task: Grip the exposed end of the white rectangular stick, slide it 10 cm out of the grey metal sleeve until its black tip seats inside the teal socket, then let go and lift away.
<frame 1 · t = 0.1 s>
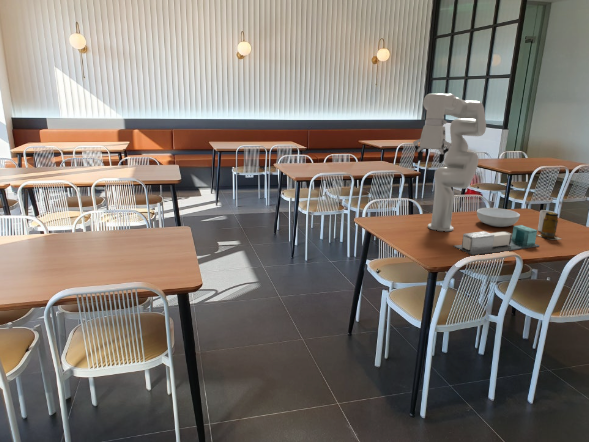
hand: (430, 161, 196), 37 cm above the table, tool pointing down, fingers open, 9 cm apart
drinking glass: (543, 231, 224), on the table
serving bowl: (496, 225, 233), on the table
white rectangular stick: (487, 240, 194), point 4 cm above the table, slide at 0.0 cm
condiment: (548, 237, 213), on the table
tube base: (499, 246, 198), on the table
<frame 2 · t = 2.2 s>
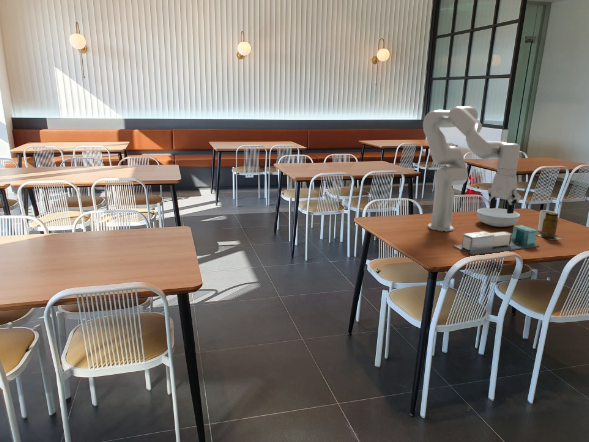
hand: (501, 210, 192), 17 cm above the table, tool pointing down, fingers open, 9 cm apart
nothing on the table moved.
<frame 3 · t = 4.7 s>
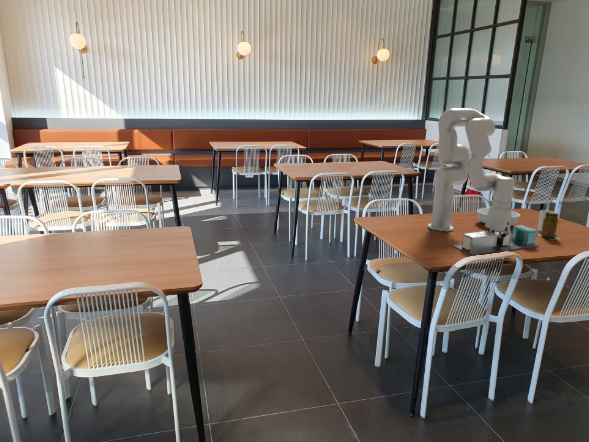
hand: (495, 243, 197), 2 cm above the table, tool pointing down, fingers closed on white rectangular stick, 4 cm apart
white rectangular stick: (487, 240, 194), point 4 cm above the table, slide at 0.0 cm, touching gripper
everything else where it was.
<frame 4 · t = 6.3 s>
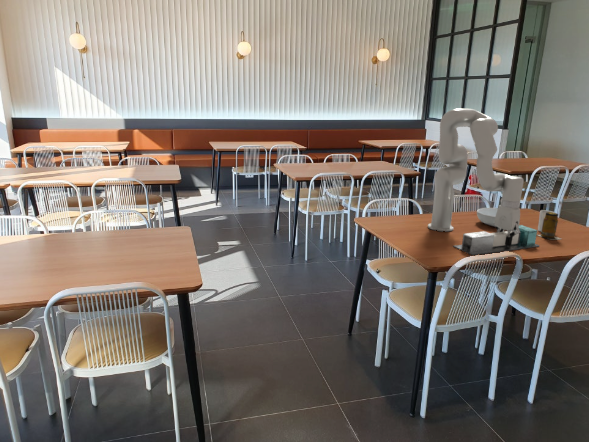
hand: (504, 242, 199), 2 cm above the table, tool pointing down, fingers closed on white rectangular stick, 4 cm apart
white rectangular stick: (496, 239, 196), point 4 cm above the table, slide at 5.2 cm, touching gripper
everything else where it was.
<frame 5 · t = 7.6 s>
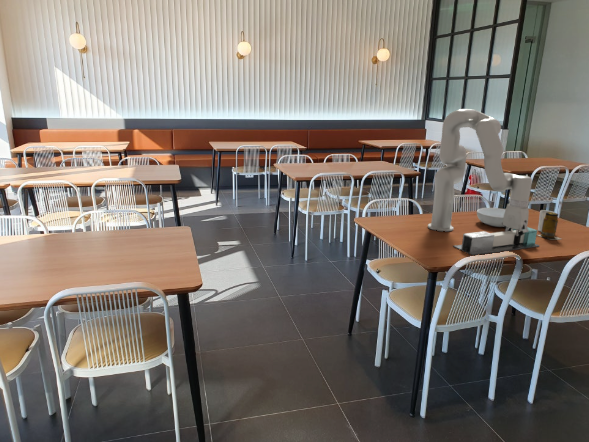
hand: (512, 241, 200), 2 cm above the table, tool pointing down, fingers closed on white rectangular stick, 4 cm apart
white rectangular stick: (504, 238, 198), point 4 cm above the table, slide at 10.2 cm, touching gripper
everything else where it was.
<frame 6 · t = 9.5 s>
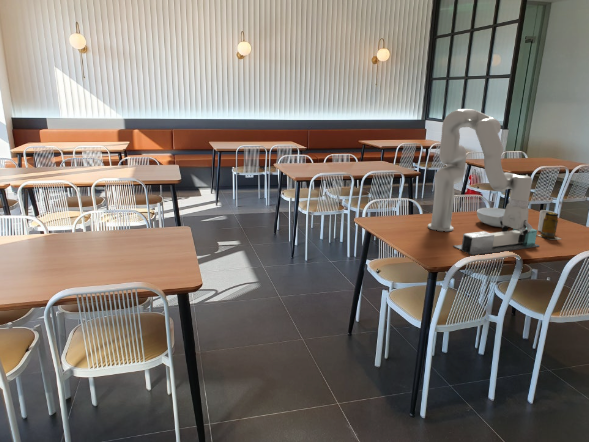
hand: (512, 239, 200), 3 cm above the table, tool pointing down, fingers open, 9 cm apart
white rectangular stick: (504, 238, 198), point 4 cm above the table, slide at 10.2 cm
everything else where it was.
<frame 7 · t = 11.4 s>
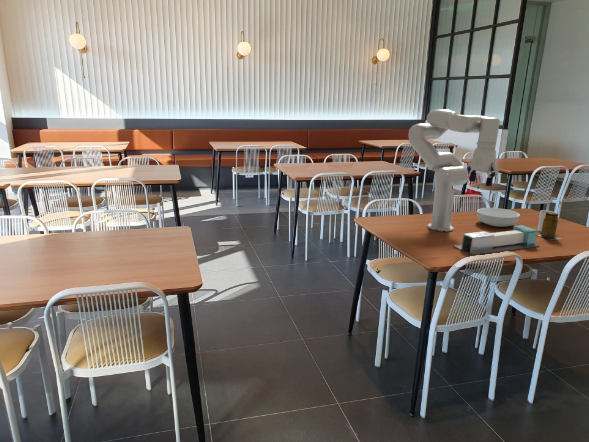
hand: (480, 183, 198), 27 cm above the table, tool pointing down, fingers open, 9 cm apart
nothing on the table moved.
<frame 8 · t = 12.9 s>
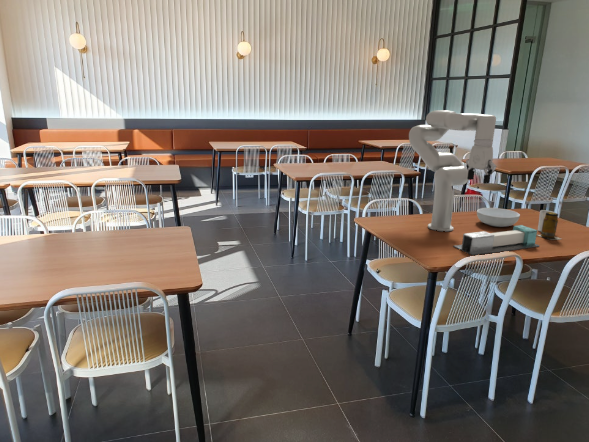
hand: (478, 181, 198), 28 cm above the table, tool pointing down, fingers open, 9 cm apart
nothing on the table moved.
at the end: white rectangular stick slide at 10.2 cm; the gripper is holding nothing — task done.
